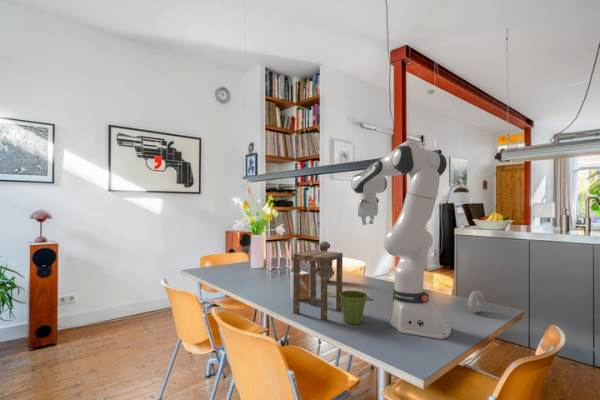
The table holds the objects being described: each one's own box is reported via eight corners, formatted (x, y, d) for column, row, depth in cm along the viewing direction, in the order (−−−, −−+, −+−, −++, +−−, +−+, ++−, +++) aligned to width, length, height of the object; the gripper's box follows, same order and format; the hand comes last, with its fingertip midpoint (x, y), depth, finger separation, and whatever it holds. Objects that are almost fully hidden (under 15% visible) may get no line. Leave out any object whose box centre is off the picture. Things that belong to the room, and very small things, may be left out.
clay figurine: (326, 279, 206) (327, 240, 206) (338, 282, 199) (338, 241, 199) (312, 282, 198) (312, 241, 198) (323, 285, 190) (323, 243, 191)
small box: (296, 301, 159) (296, 274, 160) (289, 297, 165) (290, 272, 165) (309, 298, 164) (310, 273, 164) (302, 295, 169) (303, 270, 169)
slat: (368, 300, 162) (368, 296, 162) (322, 296, 169) (322, 291, 169) (368, 299, 165) (369, 294, 165) (323, 294, 172) (323, 290, 172)
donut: (474, 316, 140) (474, 293, 140) (466, 313, 143) (466, 291, 143) (486, 311, 146) (486, 289, 146) (478, 309, 149) (478, 288, 149)
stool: (342, 310, 146) (342, 253, 147) (324, 320, 133) (325, 257, 133) (312, 303, 155) (312, 249, 156) (293, 313, 142) (293, 254, 142)
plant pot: (362, 329, 124) (362, 300, 125) (334, 323, 130) (334, 295, 130) (371, 319, 135) (371, 292, 135) (344, 314, 141) (345, 288, 141)
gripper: (366, 199, 167) (365, 225, 166) (380, 199, 184) (379, 223, 183) (354, 199, 170) (354, 225, 170) (369, 199, 187) (369, 223, 187)
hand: (367, 224), depth 177 cm, fingers open, 8 cm apart
